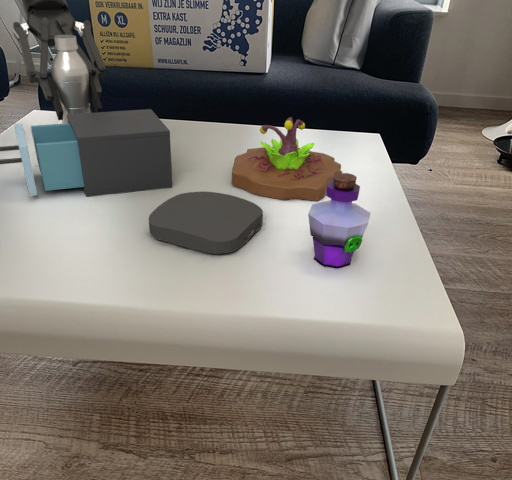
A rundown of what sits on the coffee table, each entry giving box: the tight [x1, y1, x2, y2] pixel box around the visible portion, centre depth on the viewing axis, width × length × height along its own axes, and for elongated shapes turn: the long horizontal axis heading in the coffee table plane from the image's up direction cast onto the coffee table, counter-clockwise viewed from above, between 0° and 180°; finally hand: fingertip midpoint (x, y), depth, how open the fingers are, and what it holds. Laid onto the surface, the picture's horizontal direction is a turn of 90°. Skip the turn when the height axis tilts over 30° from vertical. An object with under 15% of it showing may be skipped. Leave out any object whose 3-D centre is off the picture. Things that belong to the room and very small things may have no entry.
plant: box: [231, 116, 343, 202], centre depth 96 cm, size 20×20×11 cm
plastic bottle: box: [50, 34, 92, 124], centre depth 99 cm, size 6×7×20 cm
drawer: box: [0, 123, 84, 197], centre depth 90 cm, size 18×11×8 cm, turn 112°
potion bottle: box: [307, 172, 371, 270], centre depth 73 cm, size 9×9×12 cm
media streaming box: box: [148, 191, 264, 255], centre depth 82 cm, size 15×15×3 cm
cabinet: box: [67, 108, 174, 197], centre depth 93 cm, size 15×13×10 cm
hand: (80, 113), depth 97 cm, fingers closed on plastic bottle, 6 cm apart
